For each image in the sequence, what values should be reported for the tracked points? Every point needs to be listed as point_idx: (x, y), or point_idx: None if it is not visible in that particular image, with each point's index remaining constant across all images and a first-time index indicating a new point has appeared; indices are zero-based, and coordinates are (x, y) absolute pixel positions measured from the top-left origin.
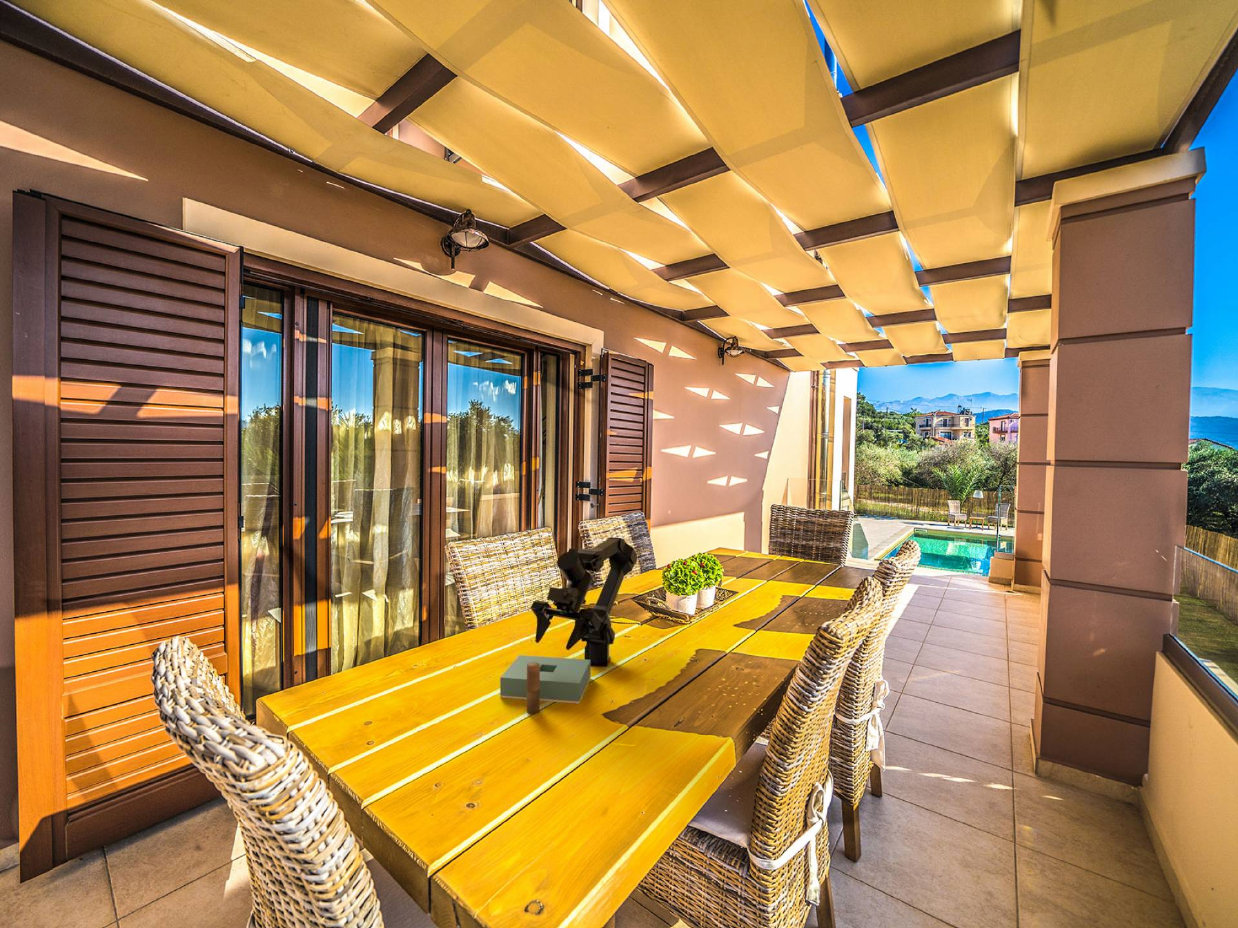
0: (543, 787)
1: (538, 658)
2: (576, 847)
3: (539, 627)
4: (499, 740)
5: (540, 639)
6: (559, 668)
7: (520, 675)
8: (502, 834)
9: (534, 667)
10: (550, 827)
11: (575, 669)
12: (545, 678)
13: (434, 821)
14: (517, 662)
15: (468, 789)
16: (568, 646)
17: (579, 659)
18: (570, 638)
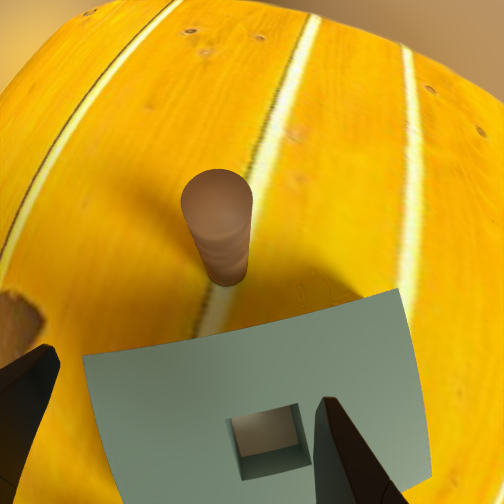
0: (106, 77)
1: None
2: (60, 48)
3: (361, 487)
4: (237, 130)
5: (314, 445)
6: (217, 459)
7: (341, 336)
8: (134, 25)
9: (196, 178)
10: (86, 48)
11: (149, 467)
12: (226, 354)
13: (217, 12)
14: (411, 428)
15: (210, 42)
16: (35, 353)
17: None
18: (3, 381)
